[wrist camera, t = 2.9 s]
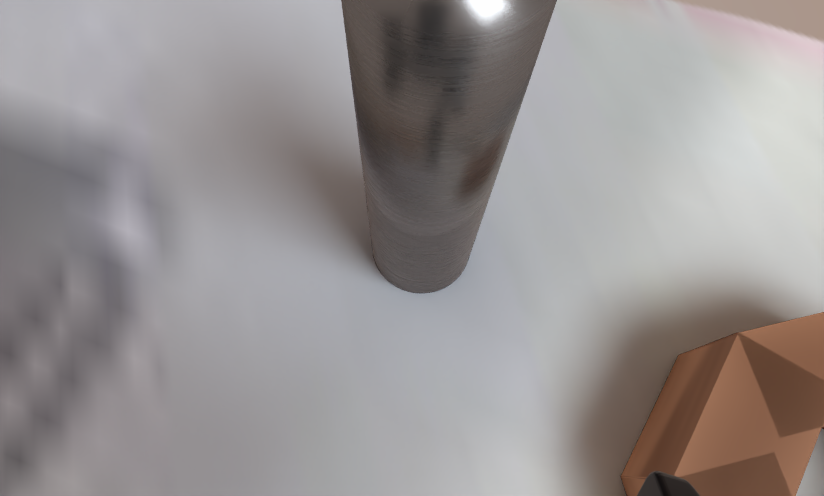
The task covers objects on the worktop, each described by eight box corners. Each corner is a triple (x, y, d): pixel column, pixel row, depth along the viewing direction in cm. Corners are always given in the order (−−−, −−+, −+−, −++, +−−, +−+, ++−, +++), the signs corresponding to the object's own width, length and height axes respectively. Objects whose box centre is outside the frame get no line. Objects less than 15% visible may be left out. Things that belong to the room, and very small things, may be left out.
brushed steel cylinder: (438, 311, 22) (498, 76, 8) (353, 260, 22) (286, -35, 9) (487, 231, 23) (611, -90, 10) (405, 184, 23) (414, -182, 10)
